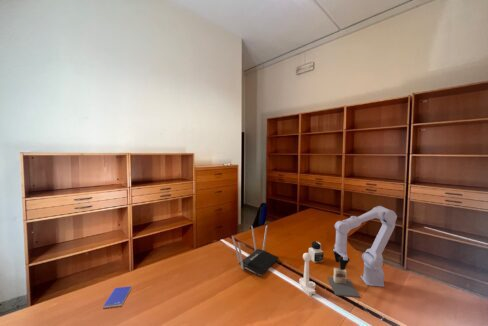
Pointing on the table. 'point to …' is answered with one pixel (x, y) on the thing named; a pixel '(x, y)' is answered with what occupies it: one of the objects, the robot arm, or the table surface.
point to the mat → (343, 288)
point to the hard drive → (117, 297)
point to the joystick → (307, 277)
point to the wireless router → (256, 258)
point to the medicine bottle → (316, 252)
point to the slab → (339, 275)
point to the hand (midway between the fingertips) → (339, 265)
